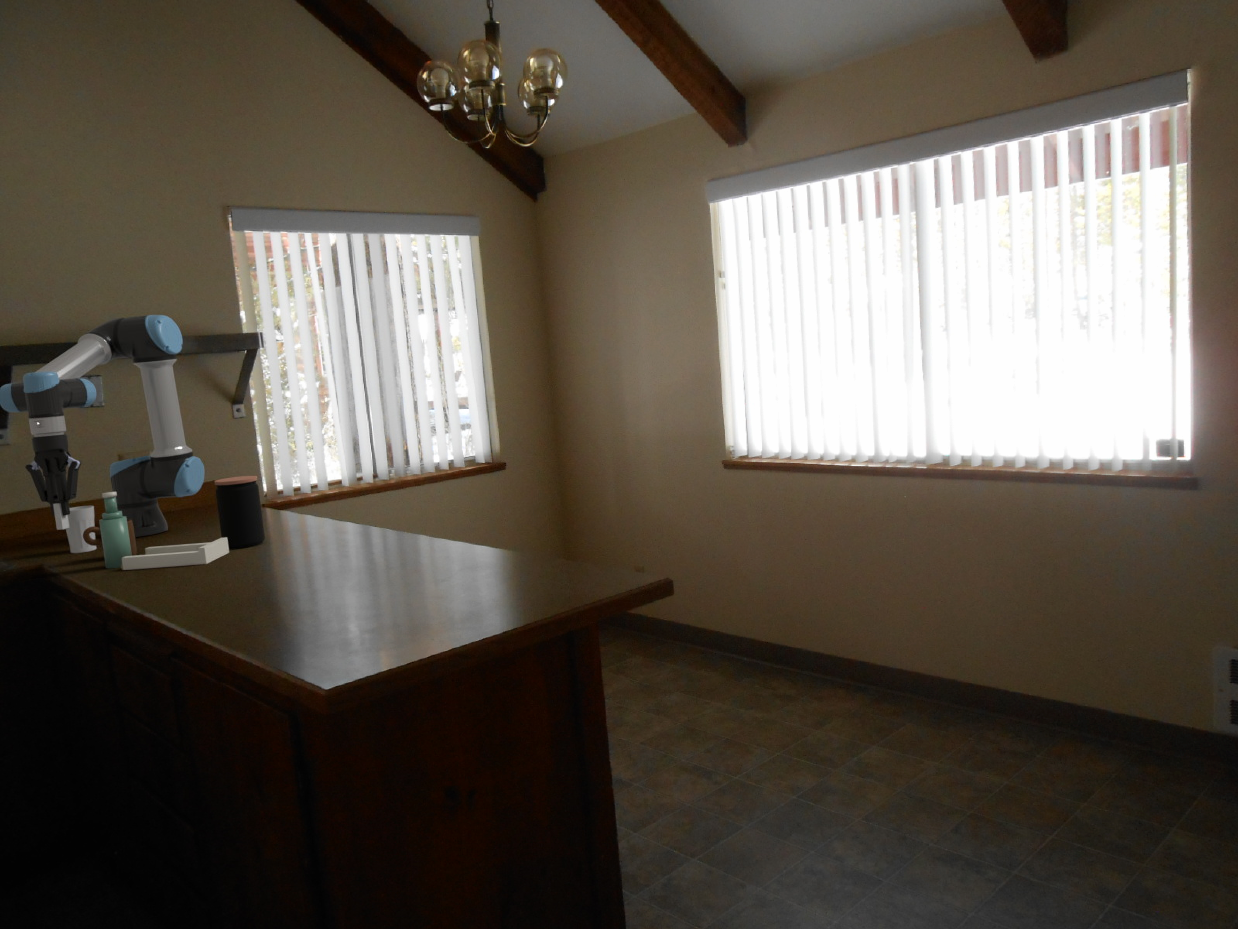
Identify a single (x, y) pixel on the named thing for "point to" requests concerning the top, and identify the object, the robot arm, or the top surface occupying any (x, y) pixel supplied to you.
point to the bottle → (114, 532)
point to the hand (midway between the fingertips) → (63, 528)
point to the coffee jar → (240, 511)
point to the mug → (99, 542)
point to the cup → (80, 528)
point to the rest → (177, 555)
